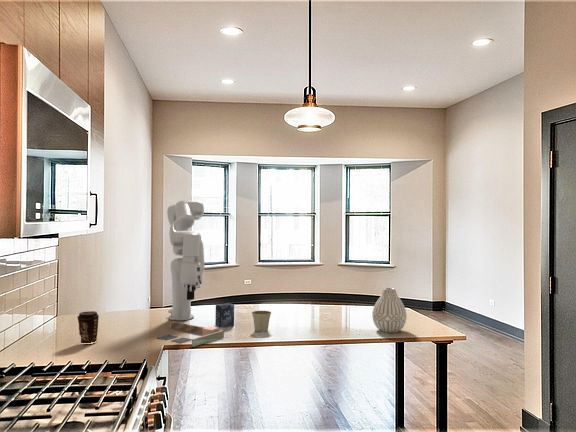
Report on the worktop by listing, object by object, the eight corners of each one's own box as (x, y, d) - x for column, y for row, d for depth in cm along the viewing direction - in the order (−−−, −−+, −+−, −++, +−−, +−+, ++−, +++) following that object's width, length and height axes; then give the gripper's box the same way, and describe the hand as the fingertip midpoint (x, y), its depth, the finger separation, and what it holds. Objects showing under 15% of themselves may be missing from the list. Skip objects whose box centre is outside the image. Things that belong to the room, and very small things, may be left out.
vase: (412, 334, 232) (412, 290, 232) (378, 335, 229) (379, 291, 229) (398, 326, 248) (399, 285, 248) (367, 327, 245) (367, 286, 245)
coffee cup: (81, 340, 218) (81, 310, 218) (101, 340, 219) (101, 310, 219) (74, 346, 210) (74, 314, 210) (95, 345, 210) (95, 314, 210)
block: (202, 338, 223) (202, 328, 223) (208, 336, 227) (208, 326, 227) (211, 340, 220) (211, 329, 220) (218, 337, 225) (218, 327, 225)
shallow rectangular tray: (140, 335, 227) (140, 329, 227) (171, 327, 243) (171, 321, 243) (193, 346, 209) (193, 339, 209) (223, 337, 225) (223, 330, 225)
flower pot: (274, 329, 241) (274, 311, 241) (267, 333, 232) (267, 315, 232) (256, 327, 244) (256, 309, 244) (248, 332, 235) (248, 313, 235)
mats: (156, 338, 223) (156, 337, 223) (168, 335, 229) (168, 334, 229) (180, 343, 215) (180, 342, 215) (192, 339, 220) (192, 339, 220)
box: (220, 327, 244) (220, 306, 244) (215, 325, 248) (215, 304, 248) (234, 325, 248) (234, 304, 248) (229, 323, 253) (229, 302, 253)
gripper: (208, 260, 229) (208, 300, 230) (185, 257, 237) (184, 295, 239) (197, 262, 223) (196, 303, 224) (173, 259, 231) (173, 298, 232)
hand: (190, 299), depth 231 cm, fingers closed
